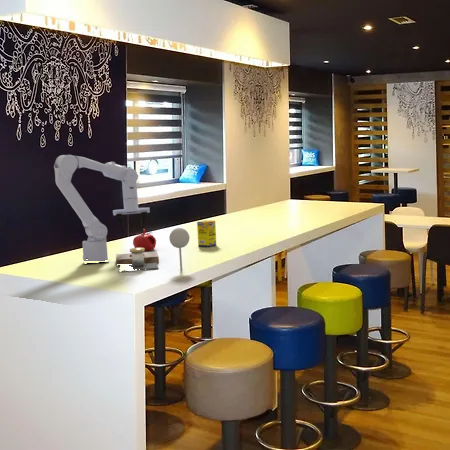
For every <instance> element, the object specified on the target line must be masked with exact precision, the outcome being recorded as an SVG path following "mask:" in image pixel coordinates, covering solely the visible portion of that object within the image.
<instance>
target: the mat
mask: <svg viewBox="0 0 450 450" xmlns="http://www.w3.org/2000/svg"><path fill="white" fill-rule="evenodd" d="M129 266H131V267H132V265H129ZM133 269H134V270H135V269H137V270H139V269H140V270H142V271H146V270H145V269H155V270H159V267H158V263H145V264H144V267H137V268H135V267H133Z"/></svg>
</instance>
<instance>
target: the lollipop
mask: <svg viewBox="0 0 450 450" xmlns="http://www.w3.org/2000/svg"><path fill="white" fill-rule="evenodd" d="M169 242H170V244H171V246H173V247H174V248H176V249H178V253H179V266H180V271H183V261H182V260H183V259H182V248H185V247H186V246H187V245H188V244H189V242H190V234H189V232H188V231H187V230H186V229H184V228H183V227H178V228H174V229H172V231H171V232H170V234H169Z"/></svg>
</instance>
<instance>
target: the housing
mask: <svg viewBox="0 0 450 450" xmlns="http://www.w3.org/2000/svg"><path fill="white" fill-rule="evenodd" d="M143 253H144V264H145V263H157V264H159V263H160V256H159V254H158V252H157V250H156V251H143ZM115 264H132V255H131V252H130V253H117V254H116V255H115Z"/></svg>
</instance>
